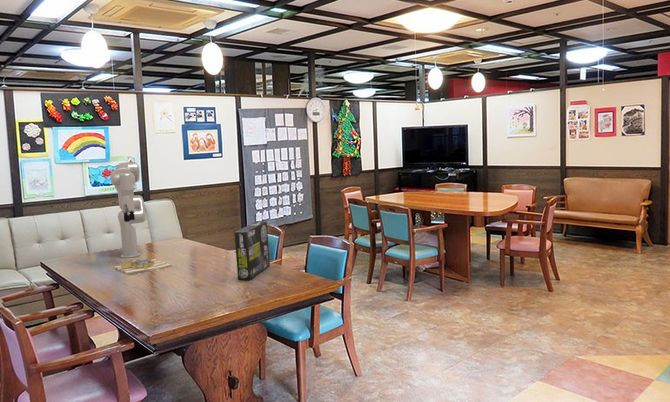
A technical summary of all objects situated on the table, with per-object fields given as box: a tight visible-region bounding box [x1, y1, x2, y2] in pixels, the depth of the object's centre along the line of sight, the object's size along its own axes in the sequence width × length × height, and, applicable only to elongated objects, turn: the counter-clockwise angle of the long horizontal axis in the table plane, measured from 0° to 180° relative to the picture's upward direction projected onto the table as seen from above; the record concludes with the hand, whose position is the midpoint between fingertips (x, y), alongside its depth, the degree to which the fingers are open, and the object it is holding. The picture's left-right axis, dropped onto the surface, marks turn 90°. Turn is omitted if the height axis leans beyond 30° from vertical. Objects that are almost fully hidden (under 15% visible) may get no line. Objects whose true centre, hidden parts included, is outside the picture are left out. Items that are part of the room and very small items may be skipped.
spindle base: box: [112, 258, 173, 276], centre depth 323 cm, size 26×26×4 cm
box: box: [233, 221, 271, 281], centre depth 296 cm, size 34×7×27 cm, turn 168°
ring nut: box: [120, 258, 155, 269], centre depth 321 cm, size 14×19×5 cm
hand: (129, 220), depth 327 cm, fingers open, 9 cm apart
